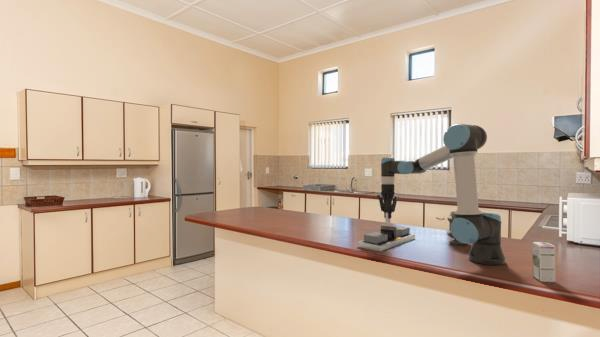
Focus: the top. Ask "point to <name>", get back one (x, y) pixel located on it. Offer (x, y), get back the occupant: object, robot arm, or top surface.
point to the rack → (385, 239)
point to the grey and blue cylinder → (450, 219)
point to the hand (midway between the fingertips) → (387, 223)
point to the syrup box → (544, 261)
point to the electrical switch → (389, 231)
